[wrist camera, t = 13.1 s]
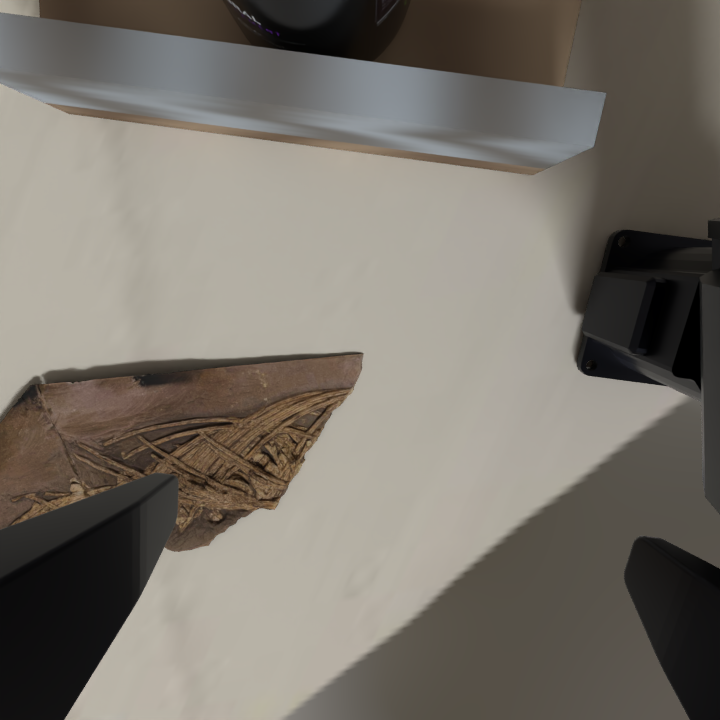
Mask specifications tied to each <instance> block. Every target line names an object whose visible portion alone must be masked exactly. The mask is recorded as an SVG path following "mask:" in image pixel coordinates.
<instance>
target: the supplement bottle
mask: <svg viewBox="0 0 720 720" xmlns="http://www.w3.org/2000/svg"><path fill="white" fill-rule="evenodd" d="M410 1H411V0H223V2H224V4H225V5H226V7H227V9H228V10H229V12H230V14H231V15H232V17H233V19H234V20H235V22H236V23H237V25H238V26H239V28H240V29H241V31H242V32H243V34H244V35H245V37H246V38H247V40H248V41H249V42H250V43H251V45H252V46H257V47H264V48H272V49H279V50H287V51H294V52H302V53H309V54H317V55H325V56H332V57H340V58H347V59H355V60H362V61H370V62H373V61H374V60H375V59H377V58H378V57H379V56H380V55H381V54H382V53H383V52H384V51H385V49H386V48H387V47H388V46H389V45H390V43H391V42H392V41H393V39H394V38H395V36H396V34H397V33H398V31H399V29H400V27H401V25H402V23H403V21H404V19H405V16H406V13H407V11H408V8H409V5H410Z"/></svg>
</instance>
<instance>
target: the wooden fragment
mask: <svg viewBox="0 0 720 720" xmlns="http://www.w3.org/2000/svg"><path fill="white" fill-rule="evenodd" d="M362 358H363V354H356V355H344V356H332V357H322V358H314V359H304V360H292V361H281V362H275V363H261V364H253V365H239V366H230V367H222V368H210V369H200V370H191V371H182V372H173V373H169V374H153V375H151V374H148V375H144V376H128V377H116V378H104V379H93V380H89V381H81V382H79V383H78V382H77V381H76V382H75V383H73V384H72V383H71V382H62V383H52V384H40V385H36V384H34V385H31V386H30V387H29V388H28V389H27V390H26V392H25V393H24V394H23V395H22V397H21V398H20V399H19V400H18V402H17V403H16V404H15V405H14V406H13V407H12V408H11V410H10V411H9V412H8V414H7V415H6V417H5V418H4V420H2V421H1V423H0V529H3V528H6V527H9V526H11V525H14V524H17V523H19V522H22V521H25V520H28V519H30V518H33V517H36V516H39V515H41V514H44V513H47V512H49V511H52V510H55V509H58V508H60V507H63V506H66V505H69V504H71V503H74V502H77V501H79V500H82V499H85V498H88V497H90V496H93V495H96V494H99V493H101V492H104V491H107V490H110V489H112V488H115V487H118V486H120V485H123V484H126V483H129V482H131V481H134V480H137V479H140V478H142V477H145V476H148V475H150V474H153V473H165V474H172V475H175V476H176V477H177V478H178V482H179V488H178V515H177V520H176V523H175V526H174V528H173V530H172V532H171V534H170V536H169V538H168V540H167V542H166V545H165V548H167V549H168V550H171V551H174V552H175V551H178V552H180V551H185V550H192V549H195V548H198V547H202V546H209V544H210V542H211V541H212V540H213V539H214V538H215V537H216V535H218V534H220V533H223V532H225V530H226V529H227V528H228V527H229V526H231V525H234V524H235V523H236V522H237V520H238V519H240V518H241V517H246V516H248V515H249V514H250V513H252V512H253V511H254V510H257V509H259V508H264V509H269V510H272V509H274V510H275V508H276V506H277V505H278V503H279V500H280V498H281V497H282V496H283V495H284V494H285V492H286V490H287V488H288V485H289V483H290V481H291V480H292V479H293V477H294V476H295V475H296V474H297V473H298V472H299V470H300V468H301V466H302V464H303V463H304V461H305V459H304V455H305V453H306V452H307V451H308V450H309V449H310V448H311V447H312V446H313V444H314V443H315V442H316V441H317V438H318V437H319V436H320V433H321V431H322V430H323V428H324V425H325V423H326V422H327V420H328V419H329V418H330V416H331V414H332V411H333V410H334V409H336V408H337V407H339V406H340V405H341V404H342V403H343V402H344V400H345V399H346V398H347V396H348V395H350V394H351V393H352V391H353V390H354V386H355V384H356V381H357V379H358V377H359V375H360V372H361V370H362ZM39 387H40V390H38V389H39ZM40 391H41V394H40ZM41 396H42V397H41Z"/></svg>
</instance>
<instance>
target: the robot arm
mask: <svg viewBox="0 0 720 720" xmlns="http://www.w3.org/2000/svg"><path fill="white" fill-rule="evenodd" d="M621 237H624V238H625V244H624V246H623V247H620V246H619V244H618V241H619V239H620V238H621ZM708 238H712V241H709V240H701V239H693V238H686V237H678V236H671V235H663V234H656V233H648V232H640V231H633V230H618V231H616V232H614V233H613V234H612V235H611V236H610V237H609V240H608V243H607V247H606V251H605V255H604V258H603V262H602V266H601V270H600V273H599V274H597V275H596V276H595V278H594V281H593V285H592V289H591V293H590V297H589V301H588V305H587V309H586V313H585V317H584V321H583V325H582V331H583V333H584V337H583V341H582V345H581V349H580V353H579V356H578V360H577V367H578V370H580V371H581V372H582V373H584V374H585V375H588V376H595V377H602V378H610V379H617V380H625V381H632V382H640V383H648V384H655V385H663V386H668V387H670V388H673V389H675V390H677V391H679V392H681V393H683V394H685V395H688V396H690V397H692V398H694V399H696V400H698V401H700V402H701V411H702V470H703V486H704V492H705V497H706V499H707V500H708V501H709V502H710V503H711V505H712V506H713V507H714V508H715V509H716V511H717V512H718V513H719V514H720V218H717V219H712V220H708ZM590 360H593V365H592V367H590V368H586V364H587V362H588V361H590ZM178 488H179V482H178V478H177V477H176V476H175V475H172V474H165V473H153V474H150V475H148V476H145V477H142V478H140V479H137V480H134V481H131V482H129V483H126V484H123V485H120V486H118V487H115V488H112V489H110V490H107V491H104V492H101V493H99V494H96V495H93V496H90V497H88V498H85V499H82V500H79V501H77V502H74V503H71V504H69V505H66V506H63V507H60V508H58V509H55V510H52V511H49V512H47V513H44V514H41V515H39V516H36V517H33V518H30V519H28V520H25V521H22V522H19V523H17V524H14V525H11V526H9V527H6V528H3V529H0V720H64V719H65V718H66V716H67V714H68V713H69V711H70V710H71V708H72V706H73V705H74V703H75V702H76V700H77V698H78V697H79V695H80V693H81V692H82V690H83V689H84V687H85V685H86V684H87V682H88V681H89V679H90V677H91V676H92V674H93V672H94V671H95V669H96V668H97V666H98V664H99V663H100V661H101V660H102V658H103V656H104V655H105V653H106V652H107V650H108V648H109V647H110V645H111V643H112V642H113V640H114V639H115V637H116V635H117V634H118V632H119V631H120V629H121V627H122V626H123V624H124V622H125V621H126V619H127V618H128V616H129V614H130V613H131V611H132V610H133V608H134V606H135V604H136V603H137V601H138V599H139V598H140V596H141V594H142V592H143V590H144V588H145V586H146V584H147V582H148V580H149V578H150V576H151V574H152V572H153V569H154V567H155V565H156V563H157V561H158V559H159V557H160V555H161V553H162V551H163V549H164V547H165V545H166V542H167V540H168V538H169V536H170V534H171V532H172V530H173V528H174V526H175V523H176V520H177V515H178ZM624 580H625V584H626V587H627V589H628V592H629V594H630V596H631V598H632V601H633V603H634V605H635V608H636V610H637V612H638V615H639V617H640V619H641V622H642V624H643V626H644V628H645V631H646V633H647V635H648V638H649V640H650V642H651V645H652V647H653V649H654V652H655V654H656V656H657V658H658V660H659V662H660V664H661V667H662V668H663V671H664V672H665V674H666V676H667V678H668V680H669V682H670V684H671V686H672V687H673V690H674V691H675V693H676V695H677V697H678V699H679V700H680V702H681V704H682V706H683V708H684V710H685V712H686V714H687V715H688V717H689V719H690V720H720V569H719V568H717V567H715V566H713V565H712V564H710V563H708V562H706V561H704V560H702V559H700V558H698V557H696V556H694V555H692V554H690V553H689V552H686V551H685V550H683V549H681V548H679V547H677V546H675V545H673V544H671V543H669V542H667V541H665V540H663V539H661V538H655V537H648V536H639V537H637V538H636V539H635V540H634V543H633V545H632V549H631V552H630V555H629V558H628V561H627V564H626V567H625V571H624Z"/></svg>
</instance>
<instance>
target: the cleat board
mask: <svg viewBox="0 0 720 720" xmlns="http://www.w3.org/2000/svg"><path fill="white" fill-rule="evenodd" d="M581 2H582V0H411V1H410V5H409V8H408V11H407V13H406V16H405V19H404V21H403V23H402V25H401V27H400V29H399V31H398V33H397V34H396V36H395V38H394V39H393V41H392V42H391V43H390V45H389V46H388V47H387V48H386V49H385V51H384V52H383V53H382V54H381V55H380V56H379V57H378V58H377V59H375V60H374V61H373V62H370V61H362V60H355V59H347V58H340V57H332V56H325V55H317V54H309V53H302V52H294V51H287V50H279V49H272V48H264V47H257V46H252V45H251V43H250V42H249V41H248V40H247V38H246V37H245V35H244V34H243V32H242V31H241V29H240V28H239V26H238V25H237V23H236V22H235V20H234V19H233V17H232V15H231V14H230V12H229V10H228V9H227V7H226V5H225V4H224V2H223V0H39V4H40V18H38V17H30V16H23V15H15V14H8V13H0V84H3V85H5V86H7V87H9V88H12V89H14V90H16V91H18V92H21V93H23V94H25V95H27V96H30V97H32V98H34V99H37V100H39V101H41V102H43V103H46V104H48V105H50V106H52V107H55V108H57V109H59V110H61V111H64V112H66V113H68V114H75V115H82V116H90V117H97V118H105V119H112V120H120V121H128V122H135V123H143V124H150V125H158V126H165V127H173V128H180V129H188V130H196V131H203V132H211V133H218V134H226V135H233V136H241V137H248V138H256V139H264V140H271V141H279V142H286V143H294V144H301V145H309V146H316V147H324V148H332V149H339V150H347V151H354V152H362V153H369V154H377V155H384V156H392V157H400V158H407V159H415V160H422V161H430V162H437V163H445V164H452V165H460V166H468V167H475V168H483V169H490V170H498V171H505V172H513V173H520V174H528V175H534V174H536V173H538V172H540V171H543V170H545V169H547V168H549V167H551V166H553V165H555V164H558V163H560V162H562V161H564V160H566V159H568V158H571V157H573V156H575V155H577V154H579V153H581V152H584V151H586V150H588V149H590V148H592V147H594V144H595V140H596V135H597V131H598V127H599V123H600V118H601V114H602V110H603V106H604V102H605V97H606V93H604V92H596V91H588V90H581V89H573V88H566V87H563V86H564V81H565V76H566V72H567V67H568V62H569V58H570V53H571V48H572V44H573V39H574V34H575V30H576V25H577V20H578V16H579V11H580V6H581Z"/></svg>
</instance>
